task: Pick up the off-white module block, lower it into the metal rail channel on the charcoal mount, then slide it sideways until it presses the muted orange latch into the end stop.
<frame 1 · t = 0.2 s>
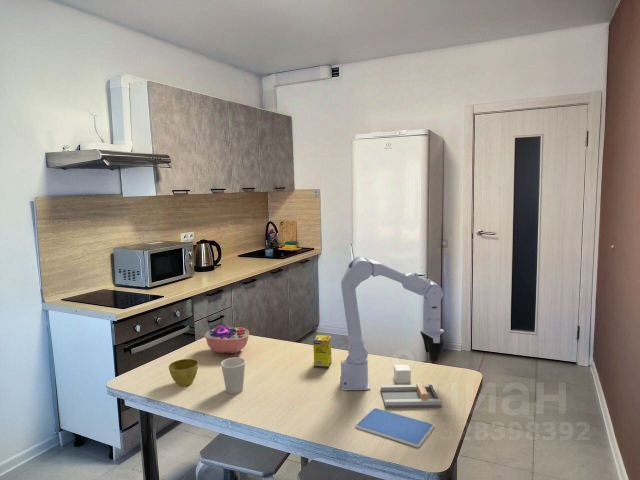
hand: (431, 356, 152), 10 cm above the table, tool pointing down, fingers open, 7 cm apart
supplement box: (323, 365, 171), on the table
dixie cup: (234, 390, 152), on the table
flower pot: (184, 384, 158), on the table
module block: (402, 379, 157), on the table
rail mount: (409, 398, 143), on the table
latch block: (422, 391, 143), point 2 cm above the table, slide at 0.0 cm
cell model: (228, 352, 188), on the table
tablet computer: (394, 429, 126), on the table
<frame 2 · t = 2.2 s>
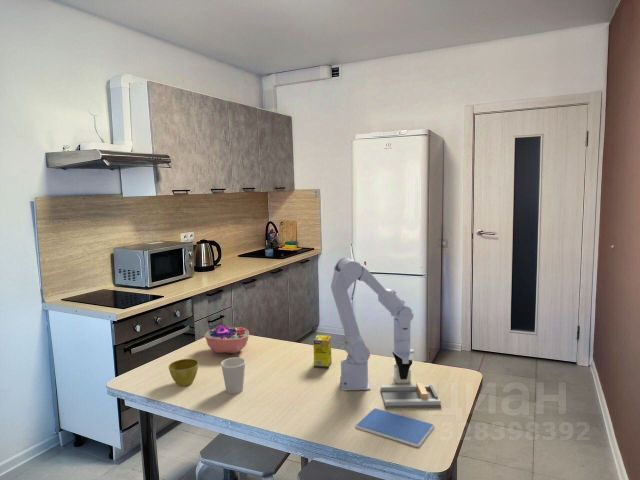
hand: (402, 375, 157), 1 cm above the table, tool pointing down, fingers closed on module block, 5 cm apart
module block: (402, 379, 157), on the table, touching gripper
everything else where it was.
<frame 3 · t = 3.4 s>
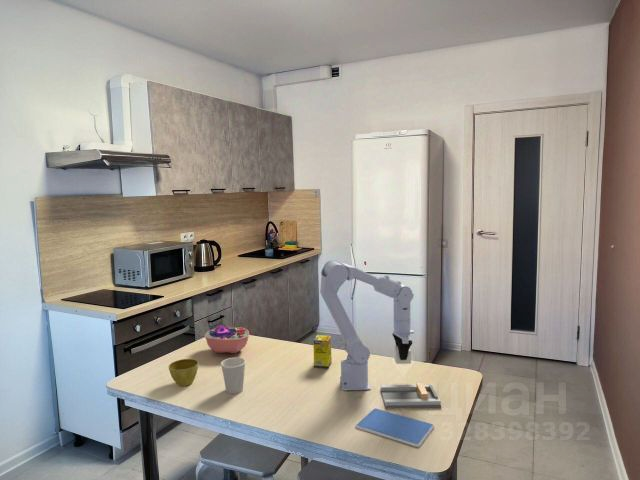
hand: (402, 356, 156), 8 cm above the table, tool pointing down, fingers closed on module block, 5 cm apart
module block: (402, 360, 156), point 7 cm above the table, touching gripper
everything else where it was.
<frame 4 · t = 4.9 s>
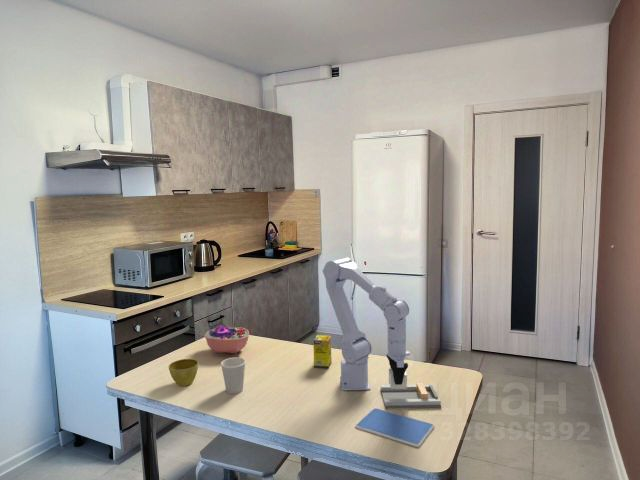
hand: (397, 380, 142), 6 cm above the table, tool pointing down, fingers closed on module block, 5 cm apart
module block: (397, 385, 143), point 4 cm above the table, touching gripper
everything else where it was.
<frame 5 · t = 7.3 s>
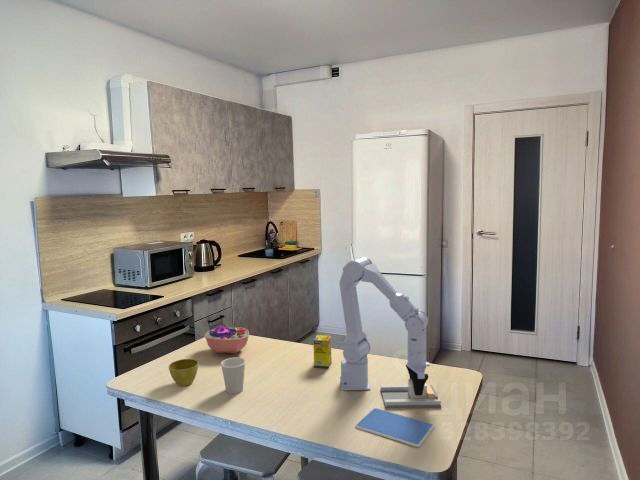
hand: (416, 390, 143), 2 cm above the table, tool pointing down, fingers closed on module block, 5 cm apart
module block: (417, 395, 143), point 1 cm above the table, touching gripper
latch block: (428, 391, 143), point 2 cm above the table, slide at 2.0 cm
everything else where it was.
when the fingers open (2 cm above the table, at t = 7.6 s): module block stays where it is, resting on rail mount.
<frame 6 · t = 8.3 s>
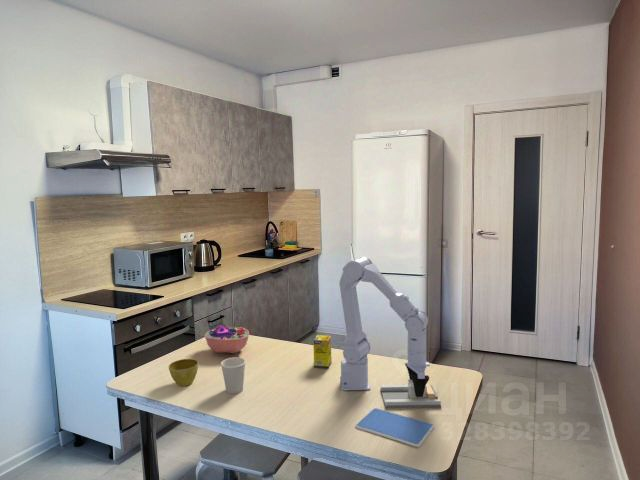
hand: (416, 390, 143), 2 cm above the table, tool pointing down, fingers open, 7 cm apart
module block: (417, 396, 143), point 1 cm above the table, touching rail mount
everything else where it was.
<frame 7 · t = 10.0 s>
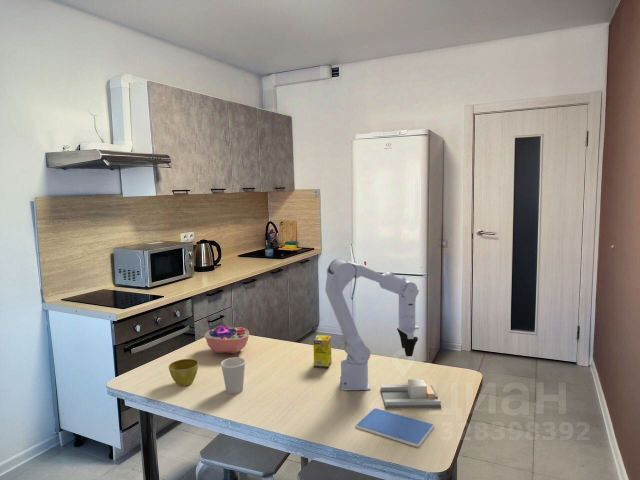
hand: (407, 351, 157), 9 cm above the table, tool pointing down, fingers open, 7 cm apart
nothing on the table moved.
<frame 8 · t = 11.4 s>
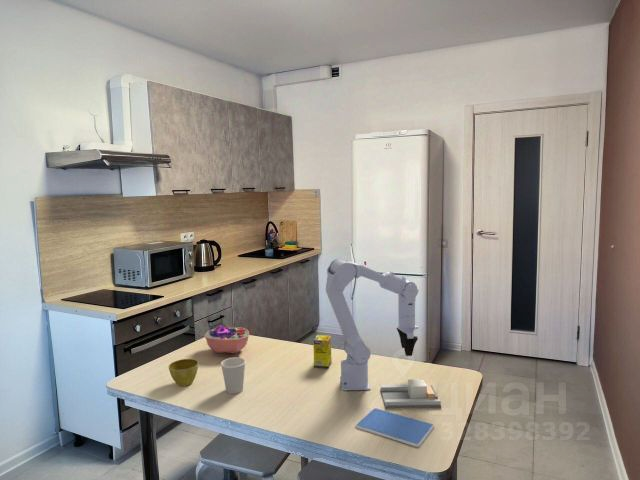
hand: (406, 351, 158), 9 cm above the table, tool pointing down, fingers open, 7 cm apart
nothing on the table moved.
at the end: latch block slide at 2.0 cm; module block 0.2 cm from the target spot, point 0.6 cm above the table; module block tilted 0° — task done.
